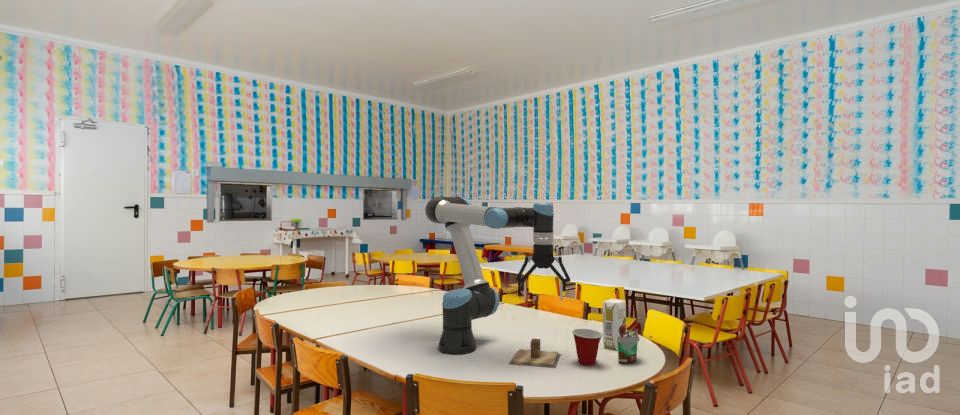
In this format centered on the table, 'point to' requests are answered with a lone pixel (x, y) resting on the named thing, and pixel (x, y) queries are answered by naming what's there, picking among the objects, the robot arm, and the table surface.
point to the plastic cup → (587, 345)
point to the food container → (627, 347)
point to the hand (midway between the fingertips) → (543, 299)
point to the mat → (539, 366)
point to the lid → (535, 356)
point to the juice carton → (613, 322)
